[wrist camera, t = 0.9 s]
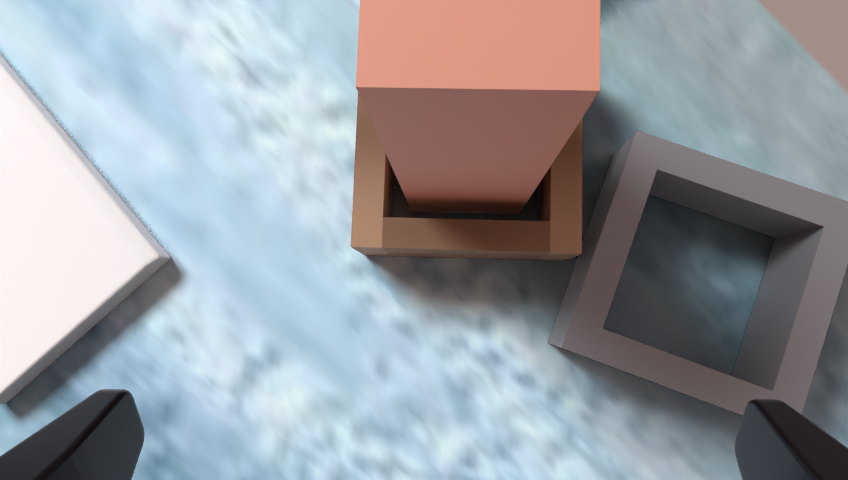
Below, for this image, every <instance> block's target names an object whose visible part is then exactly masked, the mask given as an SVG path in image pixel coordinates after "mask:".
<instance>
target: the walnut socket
mask: <svg viewBox="0 0 848 480" xmlns="http://www.w3.org/2000/svg"><path fill="white" fill-rule="evenodd" d="M582 144H583V117H582V119H581V120H580V122H579V123H578V125H577V127H576V128H575V130H574V131H573V133H572V134H571V136H570V137H569V139H568V140H567V142H566V143H565V145H564V146H563V148H562V149H561V151H560V153H559V154H558V156H557V157H556V159H555V160H554V162H553V163H552V165H551V166H550V168H549V169H548V171H547V172H546V174H545V175H544V177H543V179H542V180H541V182H540V183H539V207H538V221H514V220H476V219H438V218H400V217H393V197H394V171H393V168H392V166H391V164H390V162H389V160H388V157H387V155H386V153H385V151H384V148H383V146H382V144H381V142H380V139H379V137H378V135H377V133H376V131H375V128H374V126H373V124H372V122H371V119H370V117H369V115H368V113H367V110H366V108H365V106H364V104H363V101H362V99H361V97H360V95H359V93H358V107H357V128H356V149H355V170H354V191H353V212H352V233H351V247H352V248H354V249H355V250H357V251H359V252H360V253H362V254H363V255H377V256H411V257H445V258H479V259H512V260H546V261H567V260H569V259H571V258H573V257H575V256H577V255H580V254H582Z"/></svg>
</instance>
